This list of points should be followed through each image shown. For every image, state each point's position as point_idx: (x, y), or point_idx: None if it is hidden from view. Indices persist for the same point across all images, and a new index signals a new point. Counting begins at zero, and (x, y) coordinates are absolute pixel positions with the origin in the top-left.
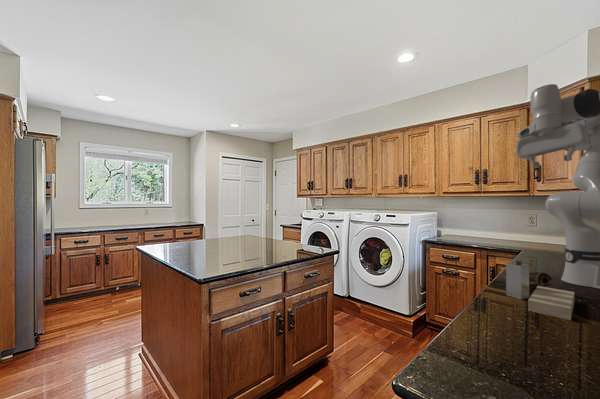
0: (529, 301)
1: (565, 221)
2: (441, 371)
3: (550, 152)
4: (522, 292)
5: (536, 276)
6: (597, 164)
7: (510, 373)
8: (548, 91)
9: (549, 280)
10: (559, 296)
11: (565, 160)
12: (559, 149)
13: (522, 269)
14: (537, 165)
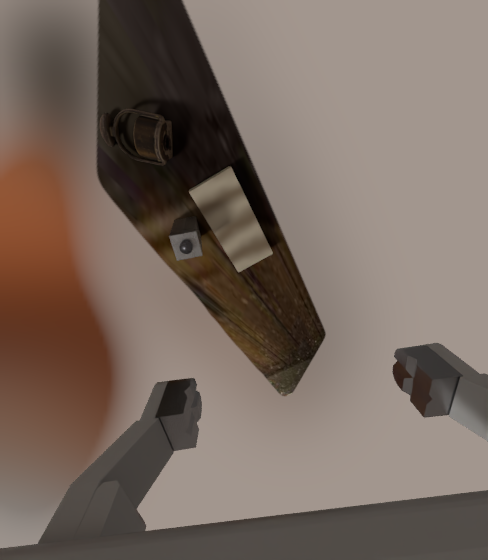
0: (239, 271)
1: None
2: (284, 381)
3: (325, 517)
4: (200, 236)
5: (159, 158)
6: None
7: (299, 355)
8: None
9: (166, 129)
10: (240, 219)
11: (399, 371)
12: (480, 524)
13: (201, 249)
14: (199, 404)
